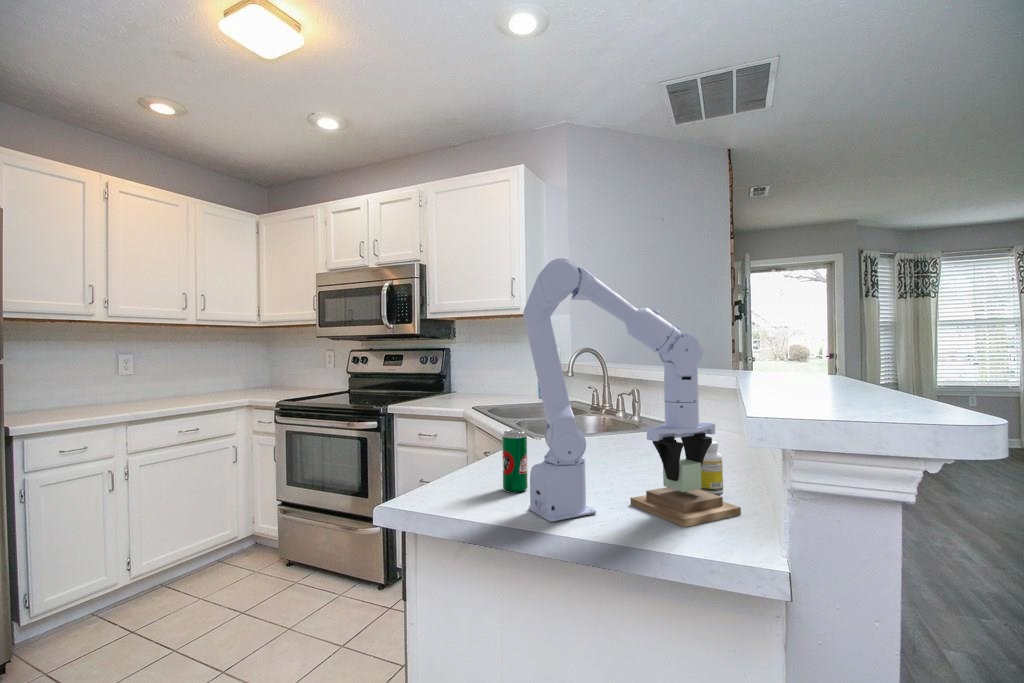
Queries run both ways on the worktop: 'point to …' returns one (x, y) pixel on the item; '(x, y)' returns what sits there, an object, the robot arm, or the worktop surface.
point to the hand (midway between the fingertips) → (683, 477)
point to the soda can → (514, 460)
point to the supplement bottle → (712, 470)
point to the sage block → (685, 476)
